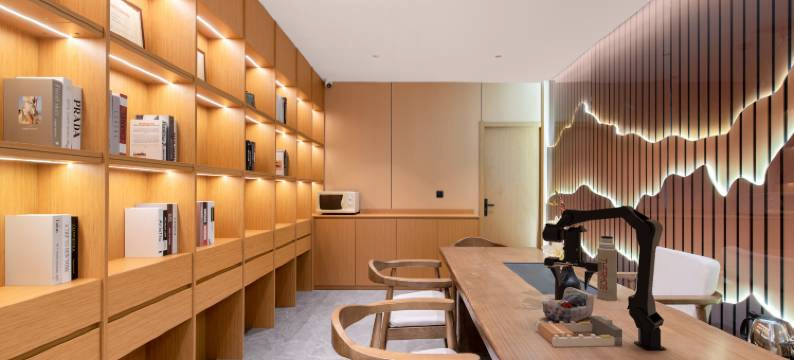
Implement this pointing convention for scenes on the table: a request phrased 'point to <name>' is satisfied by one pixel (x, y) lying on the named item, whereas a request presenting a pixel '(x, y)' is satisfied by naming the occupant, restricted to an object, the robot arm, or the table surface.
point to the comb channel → (598, 325)
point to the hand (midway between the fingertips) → (572, 287)
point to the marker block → (554, 331)
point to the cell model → (570, 306)
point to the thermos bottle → (607, 269)
